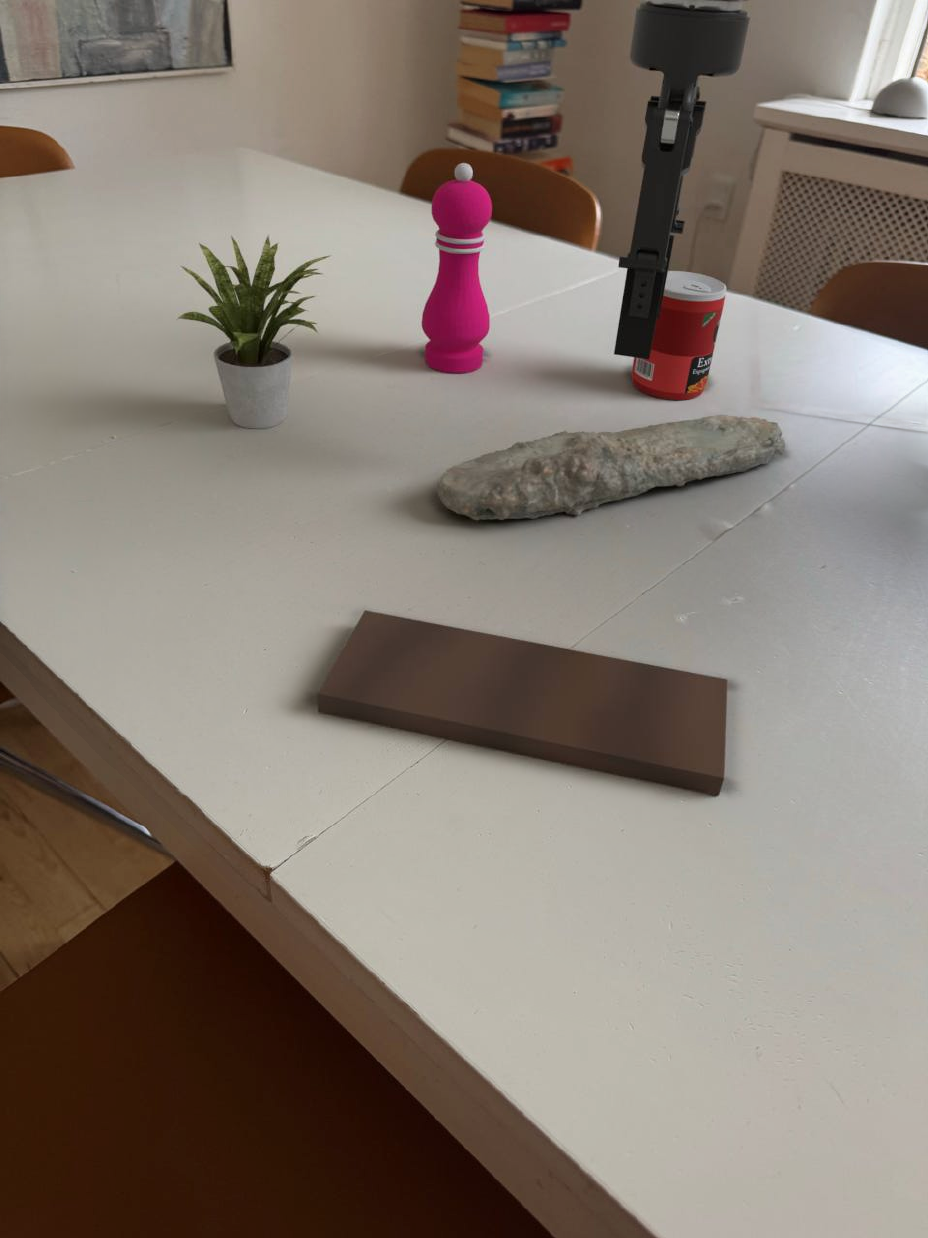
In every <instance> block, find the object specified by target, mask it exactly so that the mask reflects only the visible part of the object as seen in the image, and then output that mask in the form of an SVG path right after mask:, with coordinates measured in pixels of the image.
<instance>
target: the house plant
mask: <svg viewBox="0 0 928 1238" xmlns="http://www.w3.org/2000/svg"><path fill="white" fill-rule="evenodd" d="M231 241H232V245H233V251H234V255H235V259H236V260H235V261H236V265H237V267H236V266H231V265H224V263H222V261H221V260H219V258H218V257H217V256H215V254H214V253H213V252H212V250H211V249H210V248H209V247H207V246H205V245H204V244H201V242H199V243H198V244H199V247H200V249H201V251H202V254H203V255H204V257H205V259H206V262H207V264H208V267H209V268H210V271H211V273H212V276H213V279H214V282H215V284H216V289H217V292H218V293H217V292H216V291H215V290H214V288H213V287H212V286H211V285H210V284H209V283H208V282H207V281H205V280H204V279H203V278H202V277H201V275H199V274H198V273H196V272H194V271H193V270H191V269H189V268H187V267H185V266H183V265H180V267H181V269H183V270H184V272H186V273H188V274H189V275H190V276H191V277H193V278H194V280H195V281H196V282H197V283H198V285H199V286H200V287H201V288H202V289H203V290H204V291H205V292H206V293H207V294H208V295H209V296H210V298H212V300H213V301H214V303H215V304H216V305H211V306H209V307H208V311H209V313H210V314H211V315H212V316H213V317H214V318H213V317H211V316H209V315H207V314H204V313H202V312H197V311H188V312H185V313H183V314H181V315H180V316H178V317H177V320H179V319H180V320H181V319H182V320H188V321H196V322H201V323H204V324H207V325H211V326H214V327H216V328H217V329H218V330H219V331H221V332H222V333H224V334H225V336H226V337H227V338H228V339H229V342H225V343H223V344H221V345H219V346H218V347H216V348H215V349H214V351H213V353H212V354H213V358H214V362H215V365H216V370H217V373H218V378H219V380H220V385H221V389H222V392H223V396H224V400H225V403H226V404H225V405H226V407H227V410H228V415H229V418H230V420H231V421H232V422H233V423H234V424H235V425H236V426H238V427H241V428H246V429H256V430H257V429H259V430H260V429H267V428H273V427H276V426H278V425H280V424H282V423H283V422H284V421H285V420H286V417H287V408H288V402H289V401H288V399H289V393H290V383H291V376H292V375H291V374H292V367H293V366H292V365H293V358H294V352H293V350H292V349H291V348H290V347H289V346H288V345H286V344H284V343H282V342H281V341H282V340H283V339H285V338H286V336H288V335H289V334H290V333H291V332H292V331H293V330H294V328H292V329H291V330H289V332H288V333H287V334H286V335H284V336H283V337H282V338H281V339H280V340H279V341H275V340H274V339H275V338H276V336H277V334H278V332H279V331H280V329H281V327H284V326H286V325H297V326H295V328H297V327H298V326H302V327H307V328H309V329H312V330H313V331H314V332H316V333H317V334H319V332H318V330H317V329H316V327H315V326H314V325H318V323H317V322H314V321H309V320H305V319H302V318H301V319H300V318H294V317H296V316H298V315H300V314H302V313H304V312H308V310H307V309H304V308H302V307H299V306H300V305H301V304H303V302H305V301H307V300H309V299H312V298H315V297H316V295H310V296H305V297H302V298H299V299H297V300H296V301H289V300H286V298H287V296H288V294H300V295H301V294H302V293H301V292H298V291H297V290H292V289H293V287H294V286H295V285H296V284H297V283H298V282H299V281H300V280H302V279H306V278H309V277H311V276H314V275H323V273H321V272H318V270H319V268H309V267H310V266H312V265H313V264H316V263H317V262H320V261H323V260H325V259H327V258H329V257H332V256H333V255H325V256H321V257H317V258H314V259H311V260H309V261H306V262H304V263H303V264H301V265H299V266H297V268H295V269H294V270H293V271H291V272H290V273H289V275H287V276H286V278H284V280H282V281H280V282H277V283H275V284H273V285H271V282H272V280H273V279H272V278H273V276H274V273H275V270H276V263H275V256H276V254H277V252H278V248H279V247H278V245H279V244H280V242H277V243H275V244H273V245H272V246H271V241H270V234H268V235H267V236H266V240H265V241H264V244H263V247H262V251H261V254H260V257H259V260H258V263H257V266H256V268H255V270H254V271H255V272H254V275H253V279H252V283H251V278H250V273H249V269H248V266H247V264H246V261H245V259H244V257H243V255H242V252H241V250H240V247H239V245H238V243H237V241H236V240H235V238H234V237H233V235H232V234H231ZM227 268H230V269H231V271H232V272H233V273H234V275H235V277H236V279H237V282H238V284H233V282H232V278H231V277H230V274H229V272H228V270H227ZM308 268H309V269H308ZM316 271H317V272H316ZM270 285H271V286H270ZM273 292H274V294H272V293H273ZM270 294H272V297H271V298H270V300H269V301H268V303H267V304H266V299H267V297H268V296H269V295H270ZM289 303H290V304H291V305H289V306H288V307H286V308H284V309H282V311H280V308H281V307H282V305H287V304H289ZM265 304H266V306H265ZM279 311H280V312H279Z"/></svg>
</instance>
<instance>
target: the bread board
mask: <svg viewBox="0 0 928 1238" xmlns="http://www.w3.org/2000/svg"><path fill="white" fill-rule="evenodd" d="M316 696H317V698H316V699H317V712H318V713H320V714H321V713H322V714H326V715H331V716H336V717H339V718H344V719H349V720H355V721H359V722H365V723H368V724H374V725H377V726H384V727H388V728H393V729H398V730H402V731H406V732H411V733H416V734H422V735H427V736H431V737H435V738H441V739H444V740H450V741H454V742H460V743H464V744H469V745H472V746H473V745H474V746H478V747H483V748H487V749H492V750H497V751H502V752H507V753H512V754H515V755H521V756H526V757H531V758H535V759H540V760H545V761H550V762H555V763H559V764H564V765H569V766H574V767H579V768H581V769H582V768H583V769H588V770H592V771H597V772H603V773H606V774H611V775H617V776H621V777H625V778H631V779H635V780H639V781H640V780H641V781H643V782H650V783H655V784H659V785H664V786H669V787H673V788H677V789H683V790H688V791H691V792H697V793H702V794H706V795H711V796H717V797H719V796H720V794H721V791H722V788H723V784H724V781H725V777H726V776H725V775H726V772H725V771H726V744H727V742H726V740H727V715H728V714H727V711H728V709H727V707H728V679H727V678H723V677H716V676H711V675H706V674H702V673H695V672H690V671H685V670H680V669H674V668H670V667H666V666H665V667H664V666H660V665H654V664H649V663H643V662H639V661H638V662H637V661H633V660H628V659H623V658H618V657H612V656H607V655H602V654H595V653H591V652H586V651H581V650H575V649H569V648H565V647H559V646H554V645H549V644H544V643H538V642H534V641H528V640H523V639H517V638H512V637H508V636H502V635H498V634H491V633H487V632H481V631H476V630H471V629H465V628H460V627H455V626H449V625H446V624H445V625H444V624H441V623H440V624H439V623H435V622H428V621H423V620H419V619H413V618H409V617H402V616H397V615H393V614H387V613H381V612H378V611H377V612H376V611H372V610H371V611H370V610H367V609H366V610H365V609H364V611H363V612H362V614H361V616H360V617H359V620H358V621H357V623H356V625H355V627H354V628H353V630H352V632H351V634H350V635H349V637H348V639H347V641H346V643H345V644H344V646H343V647H342V650H341V651H340V653H339V655H338V656H337V658H336V660H335V662H334V663H333V665H332V667H331V669H330V671H329V672H328V674H327V676H326V677H325V680H324V681H323V683H322V685H321V687H320V688H319V690H318V692H317V694H316Z"/></svg>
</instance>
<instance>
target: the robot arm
mask: <svg viewBox="0 0 928 1238" xmlns="http://www.w3.org/2000/svg"><path fill="white" fill-rule="evenodd" d="M748 1H749V0H645V1H643V2H641V3H639V7H636V9H635V17H634V24H633V31H632V38H631V46H630V51H629V59H630V62H631V63H632V64H633V65H634V67H637V68H639V69H642V70H647V71H651V72H661V73H662V74H663V79H662V83H661V89H660V94H659V96H658V95H651V96H650V100H649V99H648V101H647V106H646V110H645V116H644V128H645V130H646V131H645V137H644V140H643V141H644V142H643V146H642V153H641V167H642V170H643V174H642V179H641V185H640V192H639V197H638V202H637V209H636V214H635V221H634V226H633V232H632V239H631V244H630V250H629V252H628V253H627V257H626V256H625V257H624V256H619V259H618V266H617V267H618V268H621V269H626V273H625V274H626V275H625V280H624V287H623V294H622V299H621V300H622V301H621V306H620V312H619V319H618V327H617V330H616V331H617V332H616V338H615V345H614V350H613V355H616V356H622V357H630V358H634V357H635V358H642V359H650V354H651V348H652V343H653V337H654V332H655V326H656V321H657V318H659V317H660V312H661V306H662V301H663V295H664V290H665V284H666V279H667V273H668V271H669V268H670V263H671V256H672V251H673V246H674V241H675V235H674V234H677V235H678V234H679V235H683V233H684V228H685V223H686V221H685V220H680V219H677V217H678V215H680V214H679V213H680V207H679V203H680V199H681V193H682V187H683V181H684V176H685V175H686V174H688V172H689V171H690V170H691V165H692V160H693V158H694V153H695V148H696V144H697V138H698V136H699V135H700V133H701V131H702V127H703V124H704V117H705V113H706V107H707V100H700V97H701V92H700V91H701V88H700V86H699V81H700V76H705V77H712V78H714V77H715V78H716V77H717V78H719V77H728V76H732V75H734V74H736V73H737V72H738V71H739V69H740V67H741V64H742V60H743V54H744V50H745V44H746V41H747V40H746V39H747V34H748V30H749V24H750V18H751V17H749V16H748V11H746V10H742V6H743V3H744V2H748ZM672 234H673V235H672Z"/></svg>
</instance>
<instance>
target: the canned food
mask: <svg viewBox="0 0 928 1238" xmlns="http://www.w3.org/2000/svg"><path fill="white" fill-rule="evenodd" d="M726 295H727V285H726V284H725V283H724V282H722V281H721V280H719V279H716V278H715V277H712V276H709V275H705V274H702V273H698V272H691V271H683V270H668V273H667V279H666V284H665V290H664V295H663V301H662V306H661V312H660V317H659V318H657V321H656V326H655V332H654V337H653V343H652V348H651V354H650V359H642V358H635V357H633V361H632V362H633V363H632V368H631V379H632V384H633V386H634V387H635V388H636V390H638V391H640V392H642V393H643V394H646V395H648V396H651V397H654V398H659V399H662V400H663V399H664V400H671V401H686V400H692V399H695V398H697V397H699V396H701V395H702V394H703V392H704V390H705V389H706V387H707V384H708V379H709V374H710V369H711V365H712V360H713V356H714V352H715V347H716V344H717V343H716V342H717V338H718V334H719V329H720V324H721V320H722V315H723V310H724V307H725V299H726Z"/></svg>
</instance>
